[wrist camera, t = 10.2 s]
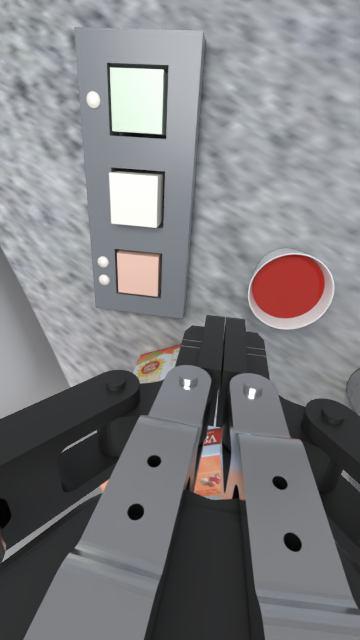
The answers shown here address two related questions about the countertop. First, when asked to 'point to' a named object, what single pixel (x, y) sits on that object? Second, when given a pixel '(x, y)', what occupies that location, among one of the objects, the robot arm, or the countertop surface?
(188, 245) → the keypad
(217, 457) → the cracker box
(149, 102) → the sage key
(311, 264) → the candle
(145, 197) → the cream key
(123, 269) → the rose key
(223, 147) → the countertop surface
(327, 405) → the robot arm
